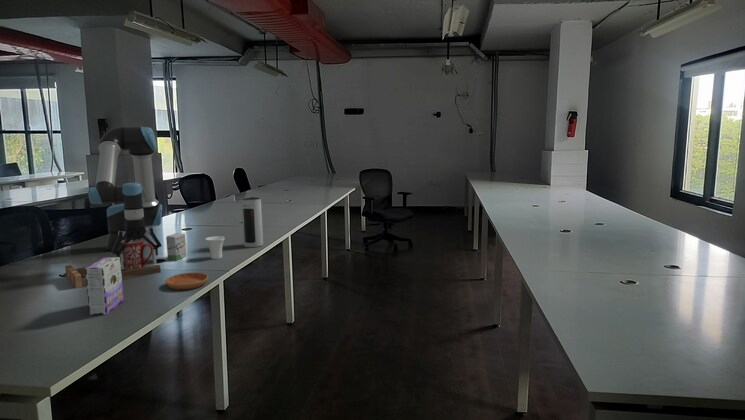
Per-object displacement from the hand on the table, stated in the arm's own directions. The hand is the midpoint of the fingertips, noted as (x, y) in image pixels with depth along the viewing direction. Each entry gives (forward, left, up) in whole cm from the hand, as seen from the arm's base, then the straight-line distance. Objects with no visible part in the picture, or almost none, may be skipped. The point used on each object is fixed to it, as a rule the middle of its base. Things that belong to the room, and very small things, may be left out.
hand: (138, 265), depth 212 cm
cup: (+2, +35, -2) cm, 35 cm away
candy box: (+42, -23, -2) cm, 48 cm away
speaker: (-9, +61, -2) cm, 62 cm away
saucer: (+35, +8, -3) cm, 36 cm away
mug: (0, 0, -2) cm, 2 cm away
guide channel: (0, -9, -2) cm, 9 cm away
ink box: (-9, +20, -2) cm, 22 cm away
